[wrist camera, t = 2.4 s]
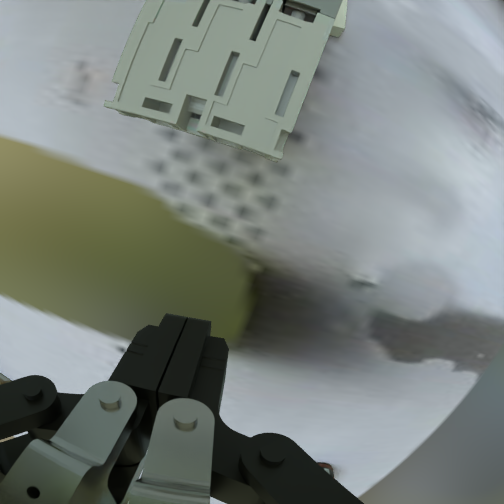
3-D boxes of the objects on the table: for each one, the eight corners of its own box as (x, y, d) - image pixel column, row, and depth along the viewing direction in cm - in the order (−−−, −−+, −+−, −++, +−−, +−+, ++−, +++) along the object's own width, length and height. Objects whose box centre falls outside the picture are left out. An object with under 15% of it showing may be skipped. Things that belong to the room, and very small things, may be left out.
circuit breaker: (326, 14, 21) (375, -83, 6) (271, 153, 25) (279, 165, 11) (245, -11, 20) (226, -119, 6) (188, 126, 25) (101, 112, 11)
